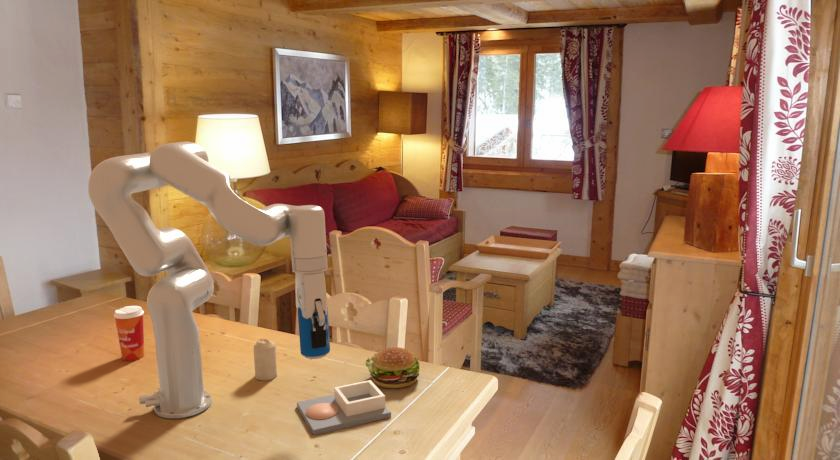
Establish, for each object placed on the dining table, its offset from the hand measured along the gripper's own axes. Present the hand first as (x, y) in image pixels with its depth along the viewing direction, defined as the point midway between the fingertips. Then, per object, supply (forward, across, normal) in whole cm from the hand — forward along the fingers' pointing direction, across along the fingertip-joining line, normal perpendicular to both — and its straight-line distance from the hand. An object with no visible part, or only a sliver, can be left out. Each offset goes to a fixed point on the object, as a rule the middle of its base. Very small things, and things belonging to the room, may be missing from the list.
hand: (314, 341), depth 137 cm
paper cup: (+17, -55, -39) cm, 69 cm away
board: (+18, 0, +6) cm, 19 cm away
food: (+19, -12, +22) cm, 32 cm away
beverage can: (+3, 0, 0) cm, 3 cm away
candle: (+18, -27, -7) cm, 33 cm away
